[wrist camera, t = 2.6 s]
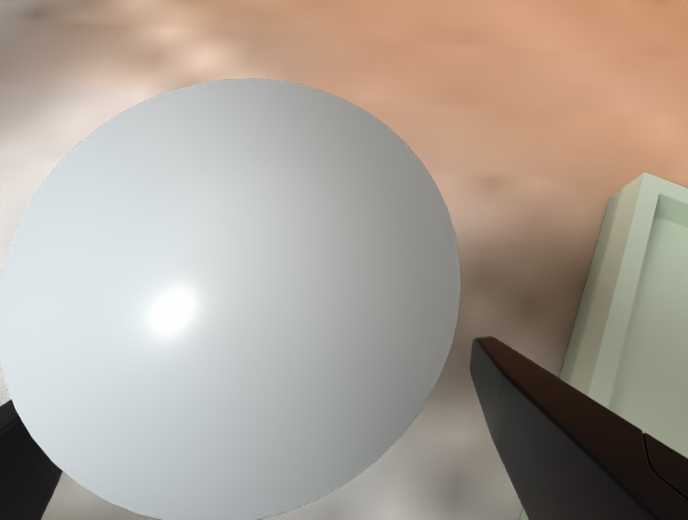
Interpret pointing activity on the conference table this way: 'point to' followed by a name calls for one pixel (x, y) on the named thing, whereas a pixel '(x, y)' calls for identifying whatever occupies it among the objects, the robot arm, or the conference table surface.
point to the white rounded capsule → (228, 301)
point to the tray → (637, 313)
